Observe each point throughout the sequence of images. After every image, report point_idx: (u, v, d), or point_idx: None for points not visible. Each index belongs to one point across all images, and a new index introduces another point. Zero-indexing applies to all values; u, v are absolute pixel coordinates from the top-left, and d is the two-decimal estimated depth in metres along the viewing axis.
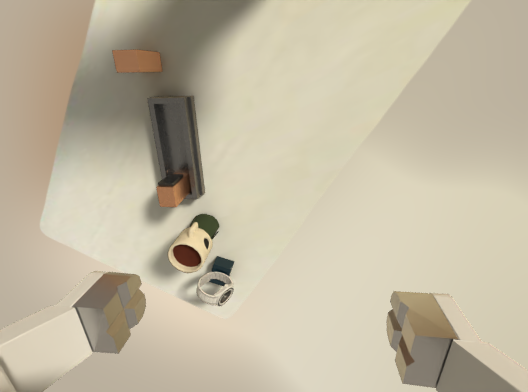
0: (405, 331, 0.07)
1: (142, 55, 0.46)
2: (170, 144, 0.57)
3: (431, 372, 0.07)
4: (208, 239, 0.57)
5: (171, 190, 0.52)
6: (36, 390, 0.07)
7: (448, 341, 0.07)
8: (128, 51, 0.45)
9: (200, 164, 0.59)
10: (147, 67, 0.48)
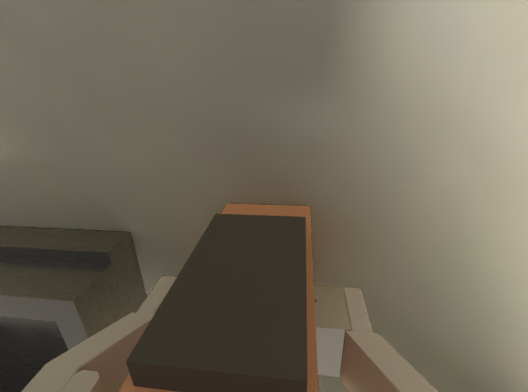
0: None
1: None
2: None
3: (332, 362, 0.07)
4: None
5: None
6: None
7: (343, 332, 0.07)
8: None
9: None
10: None
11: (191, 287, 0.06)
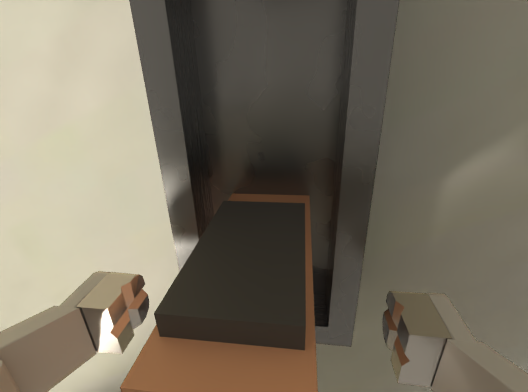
0: (400, 331, 0.07)
1: None
2: (310, 119, 0.10)
3: (426, 371, 0.07)
4: None
5: None
6: (40, 391, 0.07)
7: (443, 340, 0.07)
8: None
9: None
10: None
11: (205, 259, 0.07)
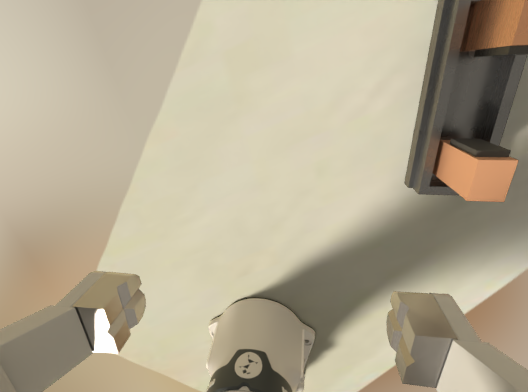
0: (405, 331, 0.07)
1: None
2: (476, 112, 0.31)
3: (431, 372, 0.07)
4: None
5: (519, 37, 0.21)
6: (36, 390, 0.07)
7: (448, 341, 0.07)
8: (505, 189, 0.26)
9: (427, 69, 0.30)
10: None
11: (471, 146, 0.27)
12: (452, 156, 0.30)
